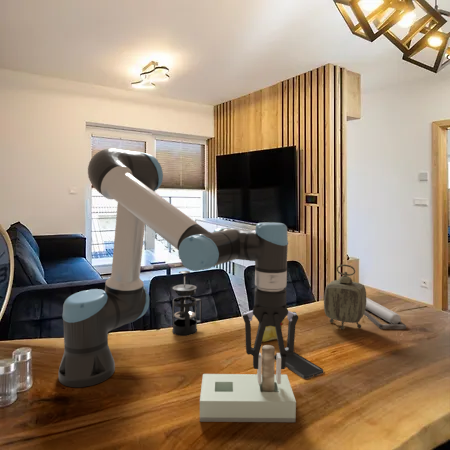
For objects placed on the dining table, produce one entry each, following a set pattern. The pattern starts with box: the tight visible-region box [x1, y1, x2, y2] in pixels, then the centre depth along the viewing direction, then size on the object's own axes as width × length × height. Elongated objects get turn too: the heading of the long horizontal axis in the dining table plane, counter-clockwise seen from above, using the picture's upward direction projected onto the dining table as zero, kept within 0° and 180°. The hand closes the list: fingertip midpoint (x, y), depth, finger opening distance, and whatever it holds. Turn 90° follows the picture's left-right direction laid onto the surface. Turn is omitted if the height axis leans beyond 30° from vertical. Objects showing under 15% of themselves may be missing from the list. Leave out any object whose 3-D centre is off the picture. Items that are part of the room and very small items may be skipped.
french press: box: [171, 270, 203, 337], centre depth 133 cm, size 12×9×23 cm
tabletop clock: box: [323, 264, 367, 331], centre depth 137 cm, size 14×9×25 cm, turn 58°
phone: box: [275, 351, 324, 380], centre depth 108 cm, size 8×1×15 cm
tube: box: [365, 296, 402, 324], centre depth 151 cm, size 5×5×25 cm
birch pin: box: [261, 344, 276, 392], centre depth 86 cm, size 3×3×14 cm
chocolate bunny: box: [262, 320, 284, 343], centre depth 127 cm, size 7×11×15 cm, turn 113°
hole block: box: [199, 373, 297, 423], centre depth 87 cm, size 22×12×5 cm, turn 90°
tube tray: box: [363, 309, 407, 330], centre depth 152 cm, size 10×30×2 cm, turn 0°
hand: (268, 380), depth 86 cm, fingers open, 4 cm apart
